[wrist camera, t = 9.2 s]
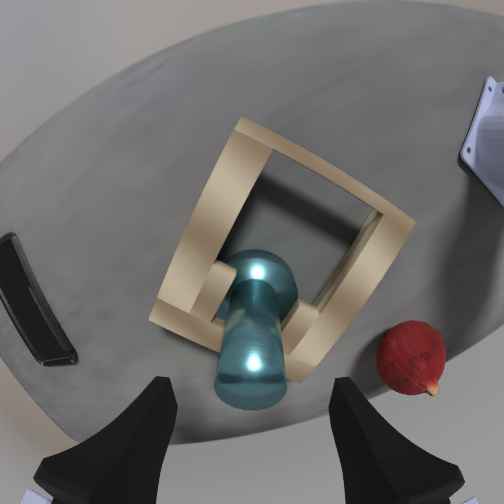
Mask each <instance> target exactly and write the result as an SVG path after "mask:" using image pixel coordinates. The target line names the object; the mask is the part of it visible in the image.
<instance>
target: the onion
mask: <svg viewBox="0 0 504 504" xmlns="http://www.w3.org/2000/svg"><path fill="white" fill-rule="evenodd" d="M376 359H377V369H378V373H379V375H380V377H381V378H382V380H383V381H384V382H385V383H386V384H387V385H388V386H389V387H390V388H391V389H392V390H394V391H396V392H399V393H402V394H406V395H417V394H422V393H427V394H429V395H430V396H434V395H436V394H438V388H439V387H438V383H437V382H438V380H439V378H440V377H441V375H442V373H443V370H444V365H445V360H446V349H445V345H444V342H443V339H442V336H441V334H440V333H439V331H438V330H436V329H435V328H433V327H431V326H430V325H429V324H427V323H426V322H420V321H412V320H411V321H407V322H403V323H400V324H398V325H396V326H395V327H393V328H391V330H390V331H389V332H388V333H387V334H386V335H385V336H384V337H383V338H382V340H381V343H380V345H379V347H378V350H377V354H376Z"/></svg>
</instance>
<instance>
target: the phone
mask: <svg viewBox="0 0 504 504" xmlns="http://www.w3.org/2000/svg"><path fill="white" fill-rule="evenodd" d="M0 299H1V301H2V303H3V305H4V307H5V309H6V311H7V313H8V315H9V316H10V318H11V320H12V322H13V324H14V326H15V327H16V329H17V331H18V332H19V334H20V336H21V337H22V339H23V341H24V342H25V344H26V346H27V347H28V349H29V350H30V352H31V353H32V355H33V356H34V358H35V359H36V361H37V362H38V363H40V364H41V365H43V366H52V365H65V364H73V363H74V362H75V360H76V359H77V357H78V355H77V352H76V350H75V349H74V347H73V346H72V344H71V342H70V341H69V339H68V338H67V336H66V334H65V333H64V331H63V329H62V328H61V326H60V324H59V322H58V321H57V319H56V317H55V315H54V314H53V312H52V310H51V308H50V306H49V304H48V302H47V300H46V299H45V297H44V295H43V293H42V291H41V289H40V287H39V284H38V282H37V280H36V278H35V276H34V274H33V272H32V269H31V267H30V265H29V263H28V260H27V258H26V255H25V253H24V251H23V248H22V245H21V243H20V240H19V238H18V236H17V235H16V234H15V233H14V232H10V233H7V234H5V235H4V236H3V237H1V238H0Z"/></svg>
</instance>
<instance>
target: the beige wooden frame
mask: <svg viewBox="0 0 504 504" xmlns="http://www.w3.org/2000/svg"><path fill="white" fill-rule="evenodd" d="M272 150H275V151H277V152H279V153H281V154H283V155H284V156H286V157H288V158H290V159H292V160H294V161H295V162H297V163H299V164H301V165H303V166H304V167H306V168H308V169H310V170H312V171H313V172H315V173H317V174H318V175H320V176H322V177H324V178H325V179H327V180H329V181H330V182H332V183H334V184H335V185H337V186H339V187H340V188H342V189H344V190H345V191H347V192H348V193H350V194H352V195H353V196H355V197H356V198H358V199H359V200H361V201H363V202H364V203H366V204H367V205H369V206H370V207H372V208H373V210H372V211H371V213H370V215H369V217H368V218H367V220H366V222H365V223H364V225H363V227H362V229H361V230H360V232H359V234H358V235H357V237H356V239H355V240H354V242H353V244H352V245H351V247H350V248H349V250H348V252H347V253H346V255H345V256H344V258H343V260H342V261H341V263H340V264H339V266H338V268H337V269H336V271H335V272H334V274H333V275H332V277H331V278H330V280H329V281H328V283H327V285H326V286H325V288H324V289H323V291H322V292H321V294H320V295H319V297H318V298H317V299H316V301H315V302H314V304H313V305H311V304H309V303H307V302H305V301H302V300H300V299H297V301H296V302H295V304H294V305H293V307H292V308H291V310H290V311H289V313H288V314H287V316H286V317H285V319H284V320H283V321H282V323H281V334H282V343H283V352H284V362H285V372H286V379H289V380H292V381H295V382H298V383H302V382H303V380H304V379H305V378H306V377H307V376H308V375H309V374H310V372H311V371H312V370H313V369H314V368H315V367H316V365H317V364H318V363H319V362H320V361H321V359H322V358H323V357H324V356H325V355H326V353H327V352H328V351H329V350H330V348H331V347H332V346H333V345H334V343H335V342H336V341H337V340H338V338H339V337H340V336H341V335H342V333H343V332H344V331H345V329H346V328H347V327H348V325H349V324H350V323H351V321H352V320H353V319H354V317H355V316H356V315H357V313H358V312H359V311H360V309H361V308H362V306H363V305H364V304H365V302H366V301H367V299H368V298H369V296H370V295H371V294H372V292H373V291H374V289H375V288H376V286H377V285H378V283H379V282H380V280H381V279H382V277H383V276H384V274H385V273H386V271H387V270H388V268H389V267H390V265H391V263H392V262H393V260H394V259H395V257H396V255H397V254H398V252H399V251H400V249H401V247H402V246H403V244H404V242H405V241H406V239H407V237H408V236H409V234H410V232H411V230H412V229H413V227H414V225H415V223H416V222H415V221H414V220H413V219H411V218H410V217H409V216H407V215H406V214H405V213H403V212H402V211H400V210H399V209H398V208H396V207H395V206H394V205H392V204H391V203H389V202H388V201H386V200H385V199H384V198H382V197H381V196H379V195H378V194H376V193H375V192H373V191H372V190H370V189H369V188H367V187H366V186H364V185H363V184H361V183H360V182H358V181H357V180H355V179H354V178H352V177H350V176H349V175H347V174H346V173H344V172H343V171H341V170H339V169H338V168H336V167H334V166H333V165H331V164H329V163H328V162H326V161H324V160H323V159H321V158H319V157H318V156H316V155H314V154H312V153H311V152H309V151H307V150H305V149H304V148H302V147H300V146H298V145H296V144H294V143H293V142H291V141H289V140H287V139H285V138H283V137H281V136H280V135H278V134H276V133H274V132H272V131H270V130H268V129H266V128H264V127H262V126H260V125H258V124H256V123H254V122H252V121H250V120H248V119H245V118H243V117H241V118H240V120H239V122H238V123H237V125H236V127H235V129H234V131H233V133H232V135H231V136H230V138H229V140H228V142H227V144H226V146H225V148H224V150H223V152H222V154H221V156H220V158H219V160H218V162H217V164H216V166H215V168H214V170H213V172H212V174H211V176H210V178H209V180H208V182H207V184H206V186H205V188H204V190H203V192H202V194H201V197H200V199H199V201H198V203H197V205H196V207H195V209H194V212H193V214H192V216H191V218H190V220H189V223H188V225H187V227H186V229H185V232H184V234H183V236H182V238H181V241H180V243H179V245H178V248H177V250H176V252H175V255H174V257H173V259H172V262H171V264H170V267H169V269H168V271H167V274H166V276H165V279H164V281H163V284H162V286H161V289H160V291H159V294H158V296H157V299H156V301H155V304H154V307H153V309H152V312H151V315H150V317H149V320H150V321H152V322H154V323H156V324H158V325H160V326H162V327H164V328H166V329H168V330H170V331H172V332H174V333H176V334H178V335H181V336H183V337H185V338H187V339H189V340H191V341H194V342H196V343H198V344H200V345H203V346H205V347H207V348H209V349H212V350H214V351H216V352H219V353H220V350H221V345H222V339H223V334H224V328H225V323H226V321H224V320H222V319H220V318H218V317H215V316H214V315H215V313H216V311H217V310H218V308H219V306H220V304H221V302H222V300H223V299H224V297H225V295H226V293H227V291H228V289H229V288H230V286H231V284H232V282H233V280H234V278H235V276H236V272H237V269H235V268H233V267H231V266H229V265H227V264H225V263H223V262H221V261H219V260H217V259H216V257H217V255H218V253H219V251H220V249H221V247H222V245H223V243H224V241H225V239H226V237H227V235H228V234H229V232H230V230H231V228H232V226H233V224H234V222H235V220H236V218H237V216H238V214H239V212H240V210H241V208H242V206H243V204H244V202H245V201H246V199H247V197H248V195H249V193H250V191H251V189H252V187H253V185H254V183H255V182H256V180H257V178H258V176H259V174H260V172H261V170H262V168H263V166H264V165H265V163H266V161H267V159H268V157H269V155H270V153H271V152H272Z"/></svg>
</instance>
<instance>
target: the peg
mask: <svg viewBox="0 0 504 504" xmlns="http://www.w3.org/2000/svg"><path fill="white" fill-rule="evenodd" d="M223 263H225V264H227V265H229V266H231V267H233V268H235V269H237V272H236V276H235V278H234V280H233V282H232V284H231V286H230V288H229V289H228V291H227V293H226V295H225V297H224V299H223V300H222V302H221V304H220V306H219V308H218V310H217V311H216V313H215V315H216V317H218V318H220V319H222V320H224V321H226V323H225V328H224V334H223V339H222V345H221V350H220V356H219V361H218V367H217V372H216V378H215V383H214V388H215V392H216V394H217V395H218V397H219V398H220V399H221V400H222V401H223V402H225V403H226V404H228V405H230V406H232V407H235V408H238V409H242V410H261V409H265V408H268V407H271V406H273V405H275V404H277V403H278V402H279V401H280V400H281V399H282V398H283V397H284V395H285V393H286V390H287V382H286V372H285V362H284V352H283V343H282V334H281V323H282V321H283V320H284V319H285V317H286V316H287V314H288V313H289V311H290V310H291V308H292V307H293V305H294V304H295V302H296V301H297V299H298V291H297V287H296V283H295V279H294V276H293V273H292V271H291V269H290V268H289V266H288V265H287V264H286V263H285V261H283V260H282V259H281V258H280V257H278V256H277V255H275V254H273V253H271V252H267V251H264V250H255V249H253V250H245V251H241V252H238V253H236V254H233V255H232V256H230V257H229V258H227V259H226V260H225V261H224V262H223Z"/></svg>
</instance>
